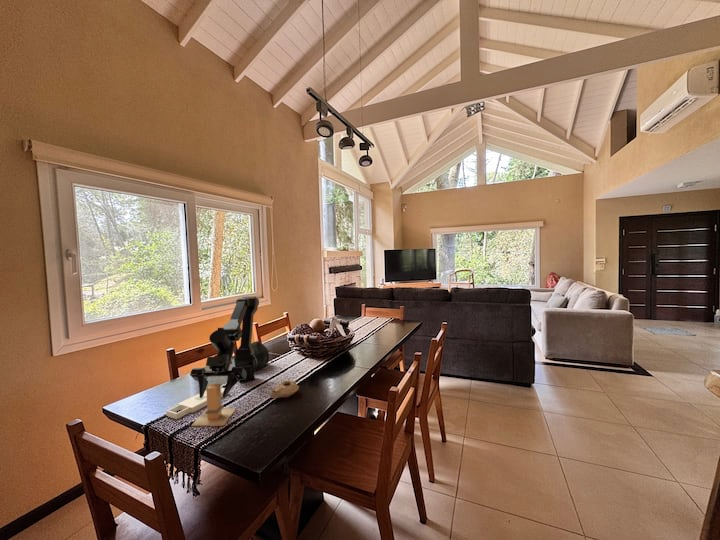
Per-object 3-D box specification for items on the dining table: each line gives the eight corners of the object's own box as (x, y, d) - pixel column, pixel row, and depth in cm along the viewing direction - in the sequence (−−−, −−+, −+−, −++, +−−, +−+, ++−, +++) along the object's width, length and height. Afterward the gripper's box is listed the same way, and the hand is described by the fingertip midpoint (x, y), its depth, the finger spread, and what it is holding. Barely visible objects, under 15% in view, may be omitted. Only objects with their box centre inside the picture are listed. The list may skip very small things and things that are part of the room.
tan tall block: (211, 413, 108) (210, 383, 107) (223, 412, 108) (222, 383, 107) (205, 419, 103) (204, 389, 103) (218, 419, 103) (217, 388, 103)
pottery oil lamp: (263, 398, 119) (266, 380, 122) (289, 399, 126) (291, 381, 129) (274, 397, 113) (276, 377, 116) (301, 398, 120) (302, 380, 123)
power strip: (215, 390, 127) (215, 384, 127) (229, 393, 124) (228, 387, 124) (164, 415, 108) (164, 408, 107) (178, 420, 104) (178, 412, 104)
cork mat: (206, 410, 111) (206, 409, 111) (236, 409, 111) (236, 407, 111) (191, 426, 100) (190, 425, 100) (223, 425, 100) (223, 424, 100)
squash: (234, 355, 157) (239, 338, 149) (262, 351, 166) (268, 334, 157) (239, 379, 148) (244, 363, 140) (268, 373, 157) (275, 357, 149)
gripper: (191, 346, 108) (174, 389, 98) (242, 345, 109) (232, 387, 98) (202, 360, 116) (188, 401, 106) (250, 359, 117) (241, 399, 107)
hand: (212, 397), depth 104 cm, fingers open, 8 cm apart
